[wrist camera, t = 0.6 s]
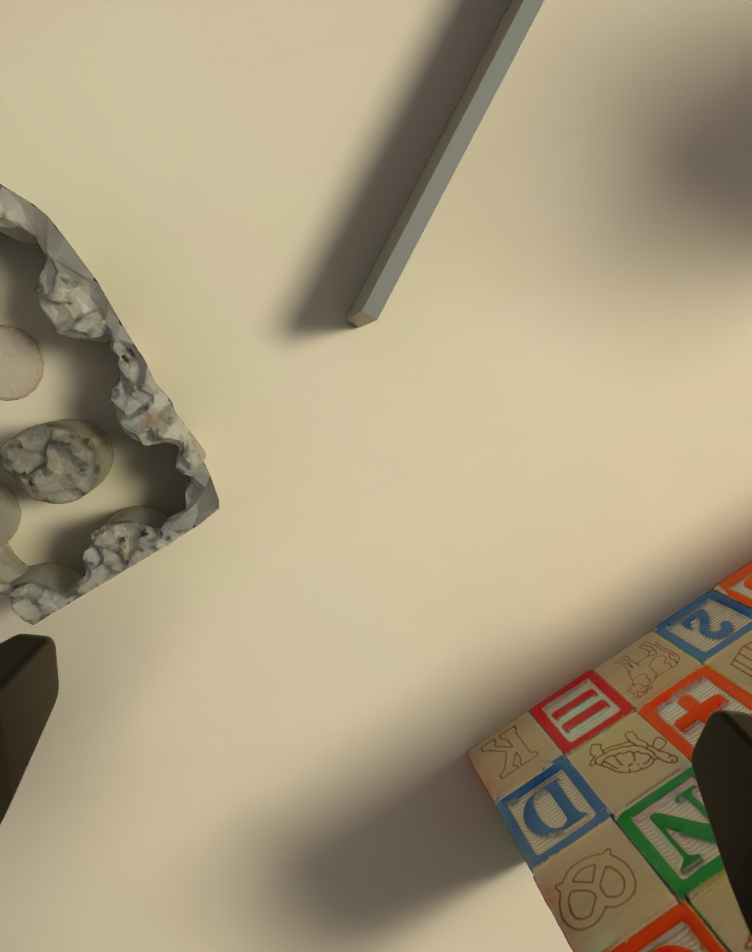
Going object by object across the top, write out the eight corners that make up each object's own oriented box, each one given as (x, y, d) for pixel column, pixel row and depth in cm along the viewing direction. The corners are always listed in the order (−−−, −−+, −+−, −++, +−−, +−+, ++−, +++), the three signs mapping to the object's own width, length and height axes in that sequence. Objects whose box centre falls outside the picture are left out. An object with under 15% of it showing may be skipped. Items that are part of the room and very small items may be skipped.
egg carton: (-185, 309, 17) (-312, 289, 14) (55, 191, 18) (0, 139, 14) (37, 607, 20) (-16, 664, 16) (239, 493, 21) (237, 520, 17)
